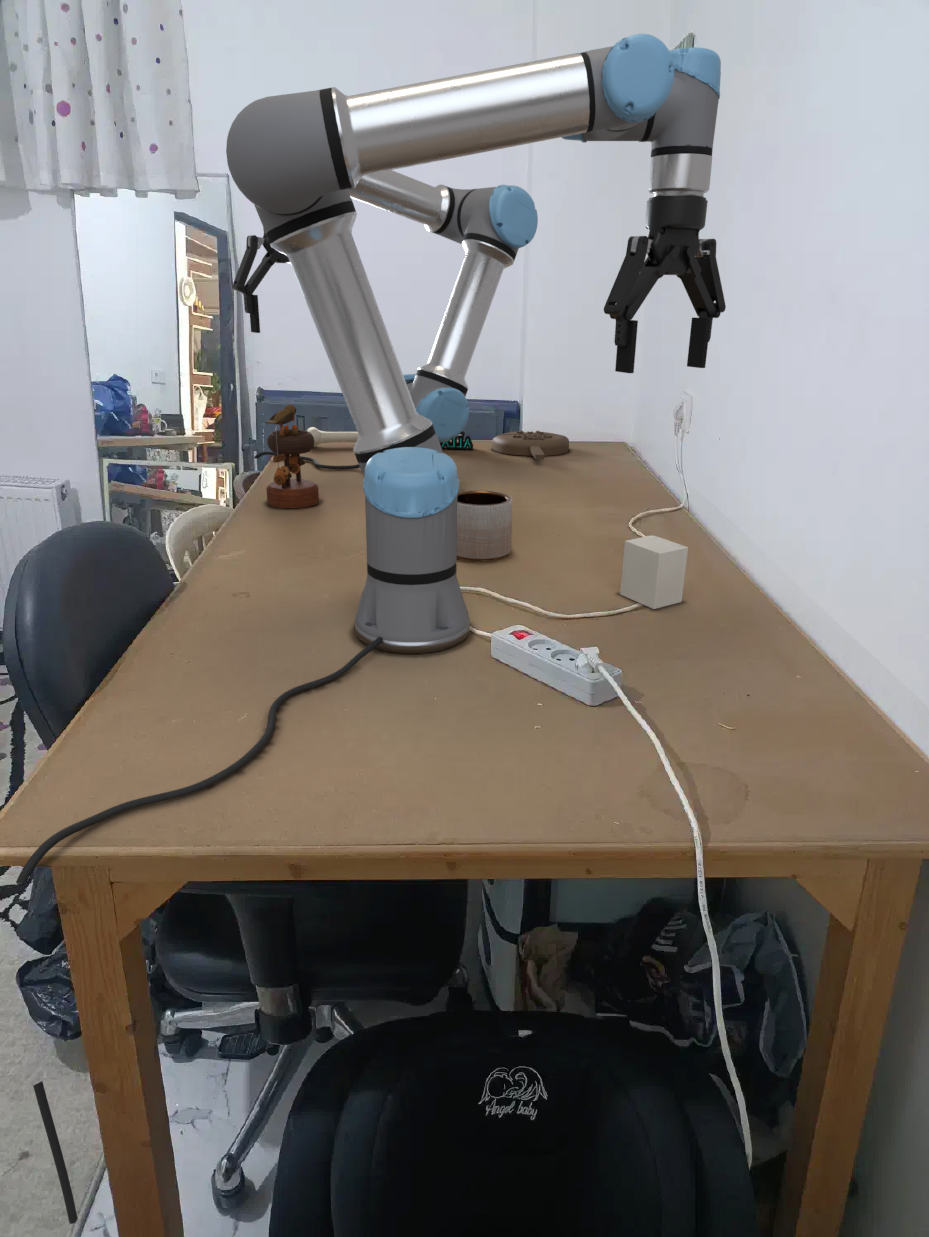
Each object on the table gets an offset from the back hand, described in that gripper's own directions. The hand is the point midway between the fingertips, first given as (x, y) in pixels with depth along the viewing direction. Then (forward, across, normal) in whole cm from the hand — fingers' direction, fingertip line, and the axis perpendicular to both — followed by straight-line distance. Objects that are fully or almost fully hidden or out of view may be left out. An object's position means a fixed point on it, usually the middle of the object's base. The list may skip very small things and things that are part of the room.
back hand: (290, 332), depth 160 cm
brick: (+34, -23, +76) cm, 86 cm away
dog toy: (+33, -35, -52) cm, 71 cm away
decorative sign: (+33, -57, -37) cm, 75 cm away
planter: (+34, -14, +45) cm, 58 cm away
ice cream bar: (+33, -74, -18) cm, 83 cm away
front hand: (+1, -23, +74) cm, 77 cm away
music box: (+34, 0, -3) cm, 34 cm away
